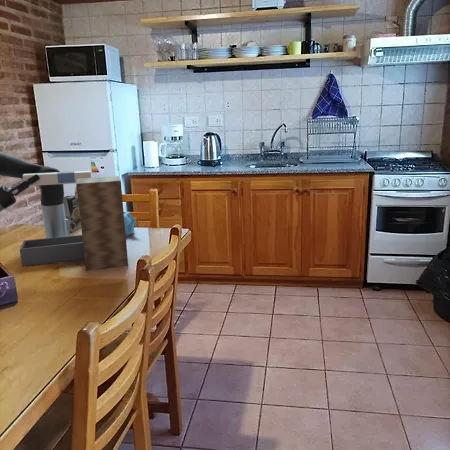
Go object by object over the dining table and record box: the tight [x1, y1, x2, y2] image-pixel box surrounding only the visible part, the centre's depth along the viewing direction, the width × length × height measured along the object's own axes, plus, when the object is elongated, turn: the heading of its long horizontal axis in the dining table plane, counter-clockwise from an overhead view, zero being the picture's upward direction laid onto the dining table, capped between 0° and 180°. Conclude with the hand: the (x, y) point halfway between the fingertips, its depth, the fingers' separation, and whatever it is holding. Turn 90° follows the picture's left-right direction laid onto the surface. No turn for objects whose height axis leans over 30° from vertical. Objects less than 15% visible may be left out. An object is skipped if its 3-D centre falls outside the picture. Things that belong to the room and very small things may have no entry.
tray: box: [19, 234, 85, 268], centre depth 173 cm, size 31×12×7 cm, turn 107°
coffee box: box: [63, 195, 81, 233], centre depth 213 cm, size 9×6×16 cm
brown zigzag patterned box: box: [74, 175, 129, 272], centre depth 162 cm, size 16×12×32 cm
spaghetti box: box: [22, 170, 92, 187], centre depth 166 cm, size 24×4×4 cm, turn 107°
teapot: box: [124, 211, 137, 237], centre depth 203 cm, size 15×15×11 cm
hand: (38, 175), depth 164 cm, fingers closed on spaghetti box, 4 cm apart
